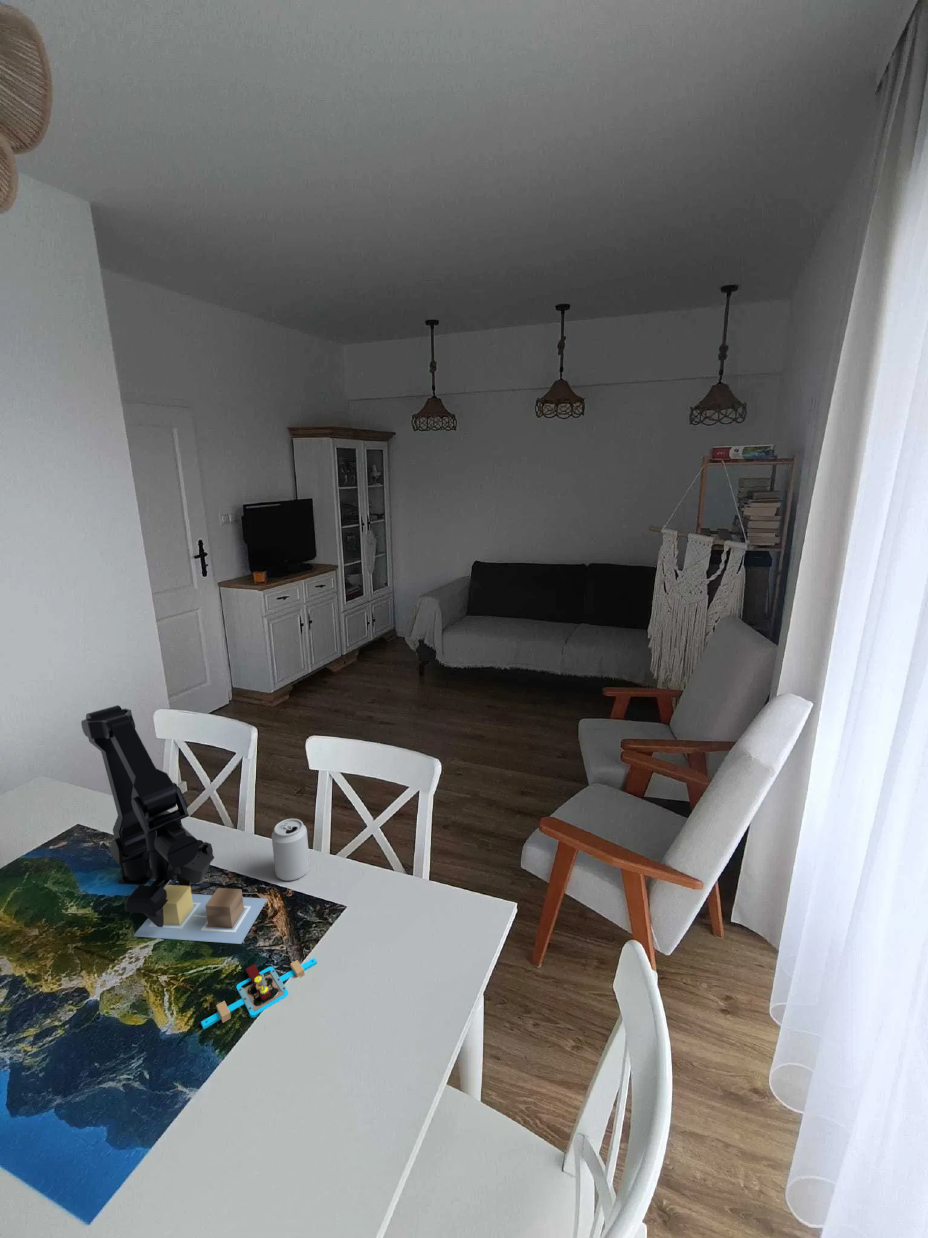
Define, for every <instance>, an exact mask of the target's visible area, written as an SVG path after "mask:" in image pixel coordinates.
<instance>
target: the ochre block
mask: <svg viewBox="0 0 928 1238" xmlns="http://www.w3.org/2000/svg"><path fill="white" fill-rule="evenodd" d="M191 887H192V886H191ZM191 887H190V886H180V885H179V884H168V885H167V886H166V887H165V888H164V889H165V890H166V892H167V897H166V899H168V901H167V902H166V904H165V905H164V906H163V916H164V924H174V925H180V924H181V923H182V921H183V920H184V919H185V917H186V916H187V915H188V913H189V912H190V911H191V909H192V908H193V901H192V894H193V893H192V888H191Z"/></svg>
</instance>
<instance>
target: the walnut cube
mask: <svg viewBox="0 0 928 1238" xmlns="http://www.w3.org/2000/svg"><path fill="white" fill-rule="evenodd" d="M212 895H213V896H212V897H211V898H210V900H209V901H208V903H207V904H206V905H205V907H206V914H207V921H208V927H217V928H233V927H234V925H235V924H236V922H237V920H238V919H239V917H240V916H241V914H242V912H243V911H244V905H243V897H244V896H243V891H242V889H241V888H227V887H226V888H225V887H218V888H217V889H216V890H215V891H214V893H213V894H212Z"/></svg>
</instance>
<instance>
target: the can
mask: <svg viewBox="0 0 928 1238" xmlns="http://www.w3.org/2000/svg"><path fill="white" fill-rule="evenodd" d="M303 822H304V821H301V819H298V818H287V819H284V820H281V821H280V822H278V823H277V824H276V825H275V826H274V828H273V832H272V833H271V843H272V844H271V845H272V853H273V860H274V862H273V863H274V870H275V871H274V873H275V876H276V877H277V878H278V879H280V880H282V881H286V882H287V881H288V882H290V881H295V880H299V879H300V878H302V877H303V876H305V875H306V874H308V872H309V871H310V867H311V862H310V851H309V841H308V828H307V827H306V826H305V825H304V823H303Z"/></svg>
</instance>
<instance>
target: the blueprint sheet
mask: <svg viewBox="0 0 928 1238" xmlns="http://www.w3.org/2000/svg"><path fill="white" fill-rule="evenodd" d="M191 894H192V901H193V908H192V909H191V911H190V912H189V913H188V915H187V916H186V917H185V919H184V920H183V921H182V923H181V924H180V925H174V924H164V925H163V927H157V926H156V925H155V924H154V923H153V922H152V921H151V920H150V919H149V918H148V917H147V919H146V920H145V921H144V922H143V924H142V925H141V926H140V927H139V928H138V929H137V930H136V932H135V933H134V934H133V937H136V938H137V937H140V938H150V939H167V940H178V941H180V940H181V941H183V940H184V941H195V942H210V943H222V944H237V945H238V944H239V945H241V944H243V942H244V940H245V938H246V936H247V935H248V933H249V931H250V930H251V928H252V926H253V925H254V923H255V921H256V920H257V918H258V916H259V914H260V912H261V911H262V909H264V908H263V907H265V905H266V902H267V901H268V898H261V897H247V896H242V897H243V905H244V911H243V912H242V914H241V916H240V917H239V919H238V920H237V922H236V924H235V925H234V927H233V928H217V927H208V921H207V914H206V907H205V905H206V904H207V903H208V901H209V900H210V898H211V897H212V896H213V894H200V893H198V894H197V893H191Z"/></svg>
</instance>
